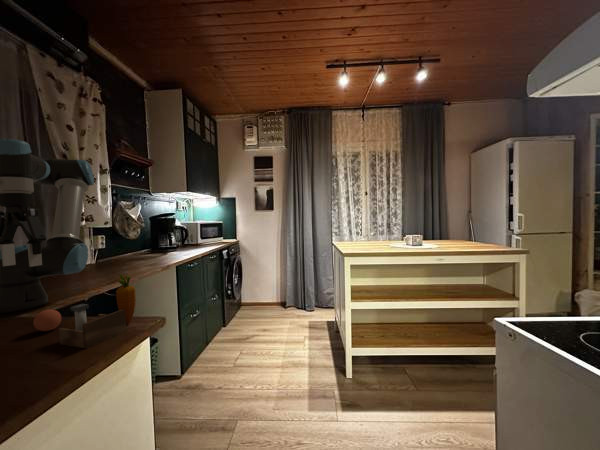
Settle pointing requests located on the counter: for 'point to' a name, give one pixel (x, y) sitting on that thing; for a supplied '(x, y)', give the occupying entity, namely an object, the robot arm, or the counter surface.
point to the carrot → (126, 298)
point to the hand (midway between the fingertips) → (22, 265)
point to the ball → (47, 320)
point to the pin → (80, 315)
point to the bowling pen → (95, 330)
